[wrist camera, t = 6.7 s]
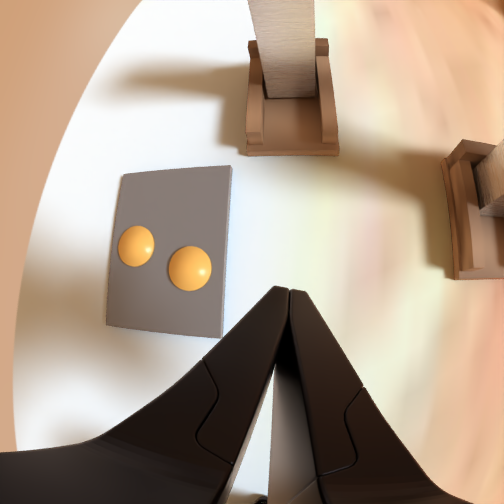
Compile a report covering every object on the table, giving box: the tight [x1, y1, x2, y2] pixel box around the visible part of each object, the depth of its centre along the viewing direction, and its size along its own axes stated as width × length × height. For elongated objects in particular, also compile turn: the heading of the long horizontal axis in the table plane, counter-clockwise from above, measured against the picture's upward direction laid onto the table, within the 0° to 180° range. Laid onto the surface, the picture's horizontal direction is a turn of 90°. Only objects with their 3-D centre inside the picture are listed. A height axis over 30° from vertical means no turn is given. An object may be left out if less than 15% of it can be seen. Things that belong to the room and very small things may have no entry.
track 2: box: [441, 139, 504, 280], centre depth 17 cm, size 9×7×4 cm
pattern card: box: [106, 165, 232, 339], centre depth 22 cm, size 12×9×1 cm
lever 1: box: [248, 0, 315, 98], centre depth 15 cm, size 4×4×15 cm
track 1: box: [245, 38, 339, 156], centre depth 21 cm, size 9×7×4 cm
